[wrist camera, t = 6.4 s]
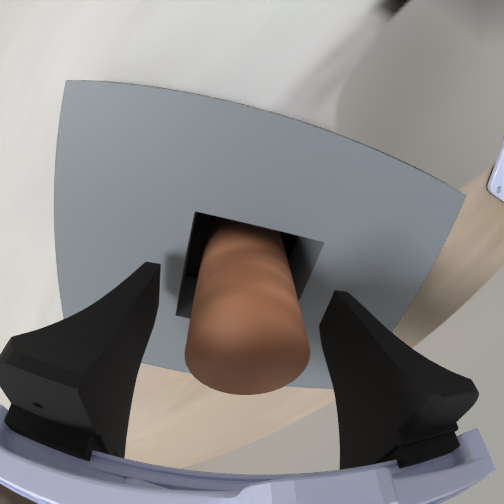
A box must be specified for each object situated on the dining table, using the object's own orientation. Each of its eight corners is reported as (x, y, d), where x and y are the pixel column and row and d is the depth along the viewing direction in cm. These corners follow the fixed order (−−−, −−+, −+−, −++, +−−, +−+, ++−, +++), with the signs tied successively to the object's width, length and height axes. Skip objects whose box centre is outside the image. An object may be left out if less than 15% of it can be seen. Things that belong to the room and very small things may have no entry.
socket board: (429, 174, 14) (466, 195, 11) (336, 352, 21) (348, 389, 18) (101, 80, 11) (66, 80, 8) (87, 305, 18) (68, 341, 15)
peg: (289, 215, 15) (329, 323, 8) (271, 278, 17) (289, 397, 10) (212, 201, 15) (189, 305, 8) (201, 267, 17) (181, 387, 10)
